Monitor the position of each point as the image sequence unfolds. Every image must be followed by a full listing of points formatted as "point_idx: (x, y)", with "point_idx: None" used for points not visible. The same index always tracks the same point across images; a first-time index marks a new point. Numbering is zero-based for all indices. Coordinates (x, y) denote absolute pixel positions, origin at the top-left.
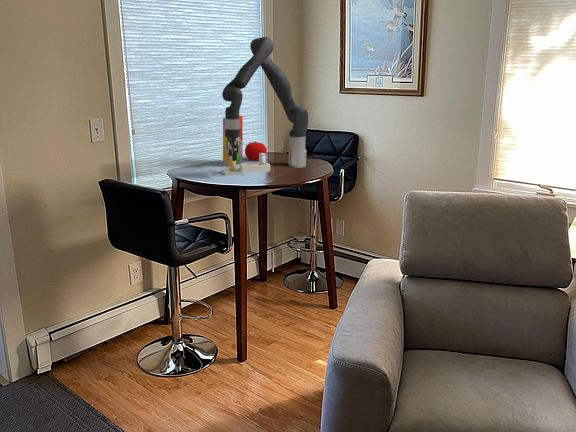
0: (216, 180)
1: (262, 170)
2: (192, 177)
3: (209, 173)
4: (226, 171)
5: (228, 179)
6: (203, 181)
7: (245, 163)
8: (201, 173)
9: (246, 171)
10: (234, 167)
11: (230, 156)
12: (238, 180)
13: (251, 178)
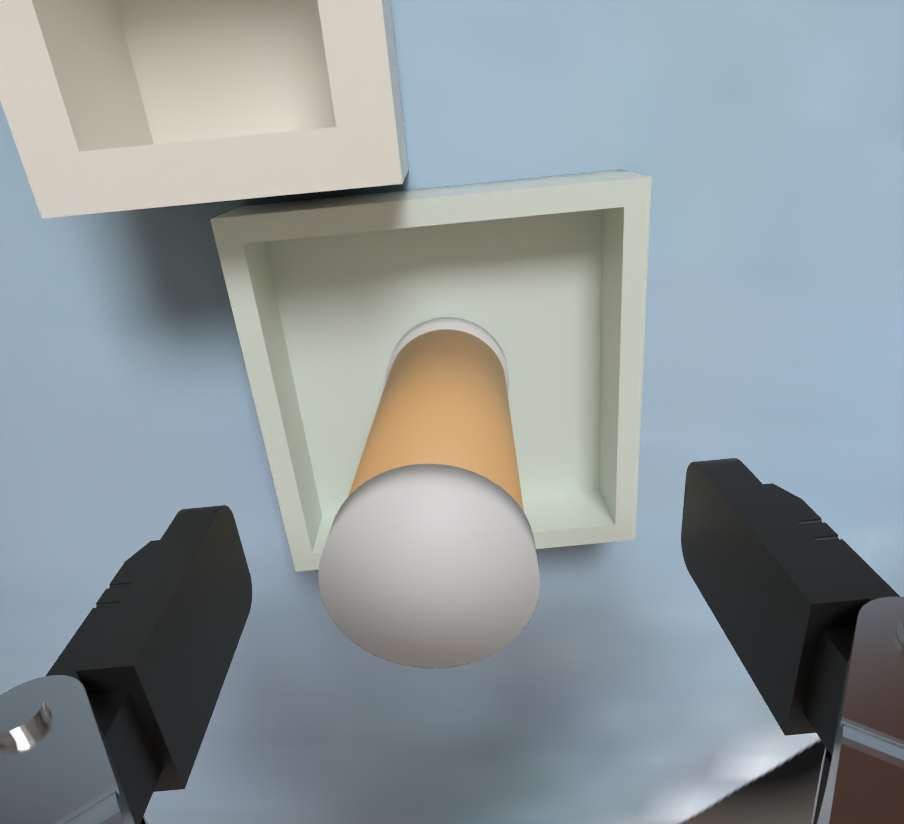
0: None
1: None
2: (527, 810)
3: (301, 656)
4: (308, 464)
5: (766, 463)
6: (773, 730)
7: (28, 30)
8: (299, 733)
9: (395, 76)
10: (503, 395)
11: (491, 644)
12: (896, 327)
13: (832, 46)
